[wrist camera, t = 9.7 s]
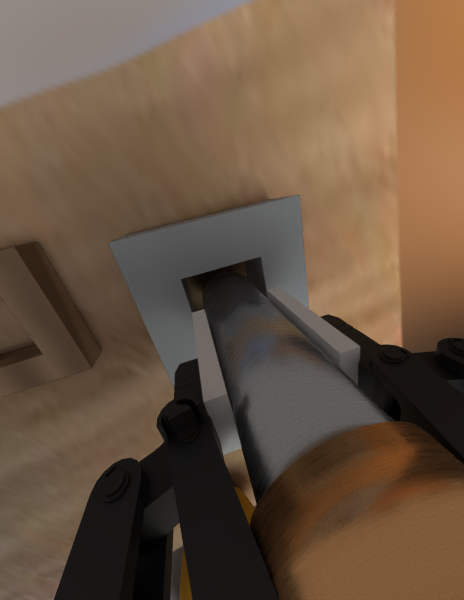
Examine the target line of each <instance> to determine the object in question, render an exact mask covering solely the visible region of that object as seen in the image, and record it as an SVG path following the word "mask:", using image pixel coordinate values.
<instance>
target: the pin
mask: <svg viewBox="0 0 464 600" xmlns="http://www.w3.org/2000/svg"><path fill="white" fill-rule="evenodd" d="M202 301H203V305H204V309H205V313H206V316H207V319H208V322H209V326H210V330H211V333H212V337H213V341H214V345H215V348H216V352H217V356H218V359H219V363H220V367H221V370H222V374H223V378H224V381H225V385H226V389H227V392H228V396H229V400H230V403H231V407H232V411H233V416H234V421H235V425H236V429H237V432H238V436H239V440H240V444H241V447H242V451H243V455H244V459H245V462H246V466H247V470H248V473H249V477H250V481H251V485H252V488H253V492H254V496H255V500H256V503H257V505H256V507H255V510H254V512H253V514H252V517H251V522H250V528H251V530H252V533H253V536H254V538H255V541H256V543H257V546H258V548H259V551H260V553H261V556H262V558H263V561H264V563H265V566H266V568H267V571H268V573H269V576H270V578H271V581H272V583H273V586H274V588H275V591H276V593H277V596H278V599H279V600H464V464H463V463H462V462H461V461H459V460H458V459H457V458H456V457H455V456H454V455H453V454H451V453H450V452H449V451H448V450H447V449H446V448H445V447H443V446H442V445H441V444H440V443H439V442H438V441H437V440H436V439H434V438H433V437H432V436H431V435H430V434H429V433H428V432H426V431H425V430H424V429H423V428H421V427H420V426H418V425H416V424H412V423H409V422H400V421H395V420H393V419H392V418H391V417H390V416H389V415H388V414H387V413H386V412H385V411H384V410H383V409H382V408H381V407H380V406H379V405H378V404H377V403H376V402H375V401H374V400H373V399H372V398H371V397H370V396H368V395H367V394H366V393H365V392H364V391H363V390H362V389H361V388H360V387H359V386H358V385H357V384H356V383H355V382H354V381H353V380H352V379H351V378H350V377H349V376H348V375H347V374H346V373H344V372H343V371H342V370H341V369H340V368H339V367H338V366H337V365H336V364H335V363H334V362H333V361H332V360H331V359H330V358H329V357H328V356H327V355H326V354H325V353H324V352H323V351H322V350H320V349H319V348H318V347H317V346H316V345H315V344H314V343H313V342H312V341H311V340H310V339H309V338H308V337H307V336H306V335H305V334H304V333H303V332H302V331H301V330H300V329H299V328H298V327H297V326H295V325H294V324H293V323H292V322H291V321H290V320H289V319H288V318H287V317H286V316H285V315H284V314H283V313H282V312H281V311H280V310H279V309H278V308H277V307H276V306H275V305H274V304H273V303H271V302H270V301H269V300H268V299H267V298H266V297H265V296H264V295H263V294H262V293H261V292H260V291H259V290H258V289H257V288H256V287H255V286H254V285H253V284H252V283H251V282H250V281H249V280H247V279H246V278H245V277H244V276H243V275H241V274H239V273H236V272H223V273H220V274H217V275H215V276H214V277H213V278H211V279H210V280H209V281H208V283H207V284H206V286H205V288H204V290H203V294H202Z"/></svg>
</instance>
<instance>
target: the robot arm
mask: <svg viewBox="0 0 464 600" xmlns="http://www.w3.org/2000/svg"><path fill="white" fill-rule="evenodd" d="M267 292H268V298H269V301H270V302H271V303H273V304H274V305H275V306H276V307H277V308H278V309H279V310H280V311H281V312H282V313H283V314H284V315H285V316H286V317H287V318H288V319H289V320H290V321H291V322H292V323H293V324H294V325H295V326H297V327H298V328H299V329H300V330H301V331H302V332H303V333H304V334H305V335H306V336H307V337H308V338H309V339H310V340H311V341H312V342H313V343H314V344H315V345H316V346H317V347H318V348H319V349H320V350H322V351H323V352H324V353H325V354H326V355H327V356H328V357H329V358H330V359H331V360H332V361H333V362H334V363H335V364H336V365H337V366H338V367H339V368H340V369H341V370H342V371H343V372H344V373H346V374H347V375H348V376H349V377H350V378H351V379H352V380H353V381H354V382H355V383H356V384H357V385H358V386H359V387H360V388H361V389H362V390H363V391H364V392H365V393H366V394H367V395H368V396H370V397H371V398H372V399H373V400H374V401H375V402H376V403H377V404H378V405H379V406H380V407H381V408H382V409H383V410H384V411H385V412H386V413H387V414H388V415H389V416H390V417H391V418H392V419H393V420H395V421H400V422H409V423H412V424H416V425H418V426H420V427H421V428H423V429H424V430H425V431H426V432H428V433H429V434H430V435H431V436H432V437H433V438H434V439H436V440H437V441H438V442H439V443H440V444H441V445H442V446H443V447H445V448H446V449H447V450H448V451H449V452H450V453H451V454H453V455H454V456H455V457H456V458H457V459H458V460H459V461H461V462H462V463H463V464H464V339H461V338H447V339H442V340H441V341H439V342H438V344H437V348H436V351H434V352H421V353H411V352H410V351H408V350H406V349H404V348H402V347H399V346H395V345H380V344H378V343H377V342H375V341H373V340H372V339H370V338H369V337H367V336H366V335H364V334H363V333H361V332H360V331H358V330H357V329H354V328H353V327H352V326H351V325H349V324H347V323H346V322H344V321H343V320H341V319H340V318H338V317H335V316H331V315H325V316H322V317H319V316H318V315H317V314H315V313H314V312H313V311H311V310H310V309H309V308H307V307H306V306H304V305H303V304H302V303H300V302H299V301H298V300H296V299H295V298H294V297H292V296H291V295H289V294H288V293H287V292H285V291H284V290H283V289H281V288H280V287H276V288H272V289H269V290H267ZM192 318H193V326H194V334H195V341H196V349H197V357H198V358H196V359H193V360H190V361H187V362H184V363H181V364H179V366H178V368H177V370H176V372H175V384H174V390H175V392H174V400H172V401H171V402H169V403H168V404H167V405H166V406H165V407H164V408H163V409H162V410H161V412H160V414H159V416H158V418H157V428H158V430H159V432H160V434H161V435H162V437H163V439H164V441H165V442H164V443H163V444H162V445H161V446H160V447H159V448H158V449H156V450H155V451H154V452H152V453H151V454H150V455H148V456H147V457H145V458H144V459H143V460H141V461H140V462H138V461H137V460H135V459H133V458H126V459H122V460H120V461H118V462H116V463H114V464H113V465H112V466H110V467H109V468H108V469H107V470H106V471H105V472H104V473H103V474H102V475H101V477H100V478H99V479H98V480H97V482H96V484H95V486H94V488H93V490H92V492H91V494H90V497H89V500H88V502H87V505H86V508H85V511H84V514H83V517H82V520H81V523H80V526H79V529H78V531H77V534H76V537H75V540H74V543H73V546H72V549H71V552H70V555H69V557H68V560H67V563H66V566H65V569H64V572H63V575H62V578H61V581H60V584H59V586H58V589H57V592H56V595H55V598H54V600H170V591H171V590H170V589H171V569H172V548H173V528H174V527H175V526H176V525H177V524H178V523H179V522H180V528H181V534H182V540H183V546H184V552H185V558H186V564H187V570H188V576H189V582H190V588H191V594H192V600H279V599H278V596H277V593H276V591H275V588H274V586H273V583H272V581H271V578H270V576H269V573H268V571H267V568H266V566H265V563H264V561H263V558H262V556H261V553H260V551H259V548H258V546H257V543H256V541H255V538H254V536H253V533H252V530H251V528H250V525H249V523H248V520H247V518H246V515H245V513H244V510H243V508H242V505H241V503H240V500H239V498H238V495H237V493H236V490H235V487H234V485H233V482H232V480H231V477H230V475H229V472H228V470H227V467H226V465H225V462H224V457H223V453H224V455H225V454H227V453H230V452H232V451H235V450H237V449H240V448H242V447H241V444H240V440H239V436H238V432H237V429H236V425H235V421H234V416H233V411H232V407H231V403H230V400H229V396H228V392H227V389H226V385H225V381H224V378H223V374H222V370H221V367H220V363H219V359H218V356H217V352H216V348H215V345H214V341H213V337H212V333H211V330H210V326H209V322H208V319H207V316H206V313H205V310H204V309H203V310H200V311H196V312H193V313H192ZM222 451H223V452H222Z"/></svg>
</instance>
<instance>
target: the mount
mask: <svg viewBox="0 0 464 600" xmlns="http://www.w3.org/2000/svg"><path fill="white" fill-rule="evenodd" d="M0 296H1V298H2V299H3V300H4V302H5V303H6V304H7V306H8V307H9V308H10V310H11V311H12V313H13V314H14V315H15V317H16V318H17V319H18V321H19V322H20V323H21V325H22V326H23V328H24V329H25V330H26V332H27V333H28V334H29V336H30V337H31V338H32V340H33V341H34V342H35V344H36V345H33V346H29V347H26V348H23V349H19V350H16V351H12V352H9V353H6V354H2V355H0V397H3V396H7V395H10V394H13V393H16V392H19V391H22V390H25V389H28V388H32V387H35V386H38V385H41V384H44V383H47V382H50V381H54V380H57V379H60V378H63V377H66V376H69V375H72V374H76V373H79V372H82V371H85V370H88V369H91V368H92V367H93V365H94V363H95V362H96V360H97V358H98V356H99V355H100V353H101V351H102V350H101V349H100V347H99V345H98V344H97V342H96V340H95V338H94V337H93V335H92V333H91V332H90V330H89V328H88V327H87V325H86V323H85V321H84V320H83V318H82V316H81V315H80V313H79V311H78V310H77V308H76V306H75V304H74V303H73V301H72V299H71V298H70V296H69V294H68V293H67V291H66V289H65V288H64V286H63V284H62V282H61V281H60V279H59V277H58V276H57V274H56V272H55V271H54V269H53V267H52V265H51V264H50V262H49V260H48V259H47V257H46V255H45V254H44V252H43V250H42V248H41V247H40V245H39V243H38V242H35V243H30V244H25V245H20V246H15V247H11V248H6V249H2V250H0Z"/></svg>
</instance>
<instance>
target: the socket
mask: <svg viewBox="0 0 464 600" xmlns="http://www.w3.org/2000/svg"><path fill="white" fill-rule="evenodd" d="M108 244H109V246H110V249H111V251H112V253H113V255H114V257H115V260H116V262H117V264H118V266H119V268H120V271H121V273H122V275H123V277H124V279H125V282H126V284H127V286H128V288H129V290H130V293H131V295H132V297H133V299H134V301H135V304H136V306H137V308H138V310H139V312H140V314H141V317H142V319H143V321H144V323H145V325H146V328H147V330H148V332H149V334H150V336H151V339H152V341H153V343H154V345H155V347H156V350H157V352H158V354H159V356H160V358H161V361H162V363H163V365H164V367H165V369H166V372H167V374H168V376H169V378H170V380H171V383H172V385H173V387H174V384H175V372H176V370H177V368H178V366H179V364H181V363H184V362H187V361H190V360H193V359H196V358H198V357H197V349H196V341H195V334H194V326H193V318H192V313H193V312H196V311H195V307H194V304H193V301H192V298H191V295H190V292H189V289H188V286H187V283H186V280H185V278H187V277H191V276H194V275H198V274H201V273H205V272H208V271H212V270H215V269H219V268H222V267H226V266H229V265H233V264H236V263H240V262H245V267H246V272H247V277H248V280H249V281H250V282H251V283H252V284H253V285H254V286H255V287H256V288H257V289H258V290H259V291H260V292H261V293H262V294H263V295H264V296H265V297H266V298H267V299H268V300H269V298H268V292H267V290H269V289H272V288H276V287H280V288H281V289H283V290H284V291H285V292H287V293H288V294H289V295H291V296H292V297H294V298H295V299H296V300H298V301H299V302H300V303H302V304H303V305H304V306H306V307H307V308H309V304H308V292H307V279H306V267H305V255H304V242H303V230H302V217H301V205H300V195H295V196H289V197H282V198H276V199H270V200H266V201H262V202H258V203H254V204H250V205H246V206H242V207H238V208H234V209H230V210H226V211H221V212H217V213H213V214H209V215H205V216H201V217H197V218H193V219H189V220H185V221H181V222H177V223H173V224H169V225H165V226H161V227H157V228H153V229H149V230H145V231H141V232H137V233H133V234H129V235H126V236H123V237H121V238H119V239H116V240H114V241H111V242H109V243H108Z"/></svg>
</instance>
